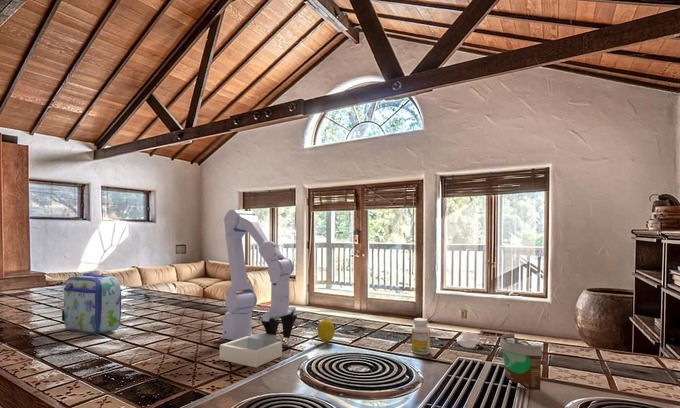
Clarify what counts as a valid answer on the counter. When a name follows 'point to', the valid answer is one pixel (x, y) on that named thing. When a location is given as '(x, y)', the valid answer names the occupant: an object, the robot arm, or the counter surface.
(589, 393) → the counter surface
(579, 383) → the counter surface
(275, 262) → the robot arm
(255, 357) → the tray
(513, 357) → the food container
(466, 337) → the whipped cream
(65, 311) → the lunch box
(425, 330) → the supplement bottle
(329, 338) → the lemon
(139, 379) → the counter surface
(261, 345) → the light grey cube
